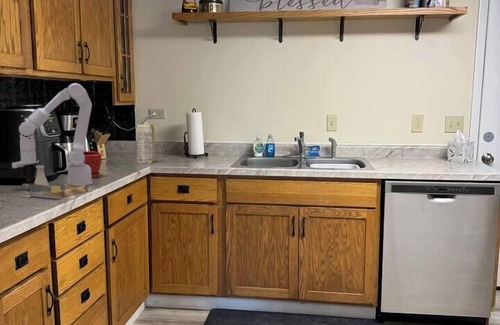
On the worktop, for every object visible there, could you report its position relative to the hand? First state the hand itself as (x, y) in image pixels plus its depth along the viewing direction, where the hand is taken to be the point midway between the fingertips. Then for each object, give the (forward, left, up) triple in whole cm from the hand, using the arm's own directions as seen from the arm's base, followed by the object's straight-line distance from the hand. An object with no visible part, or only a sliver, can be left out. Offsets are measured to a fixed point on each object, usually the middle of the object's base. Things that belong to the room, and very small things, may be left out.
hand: (29, 182), depth 195 cm
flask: (0, +7, -3) cm, 7 cm away
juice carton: (-85, -4, -3) cm, 85 cm away
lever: (+11, +19, 0) cm, 22 cm away
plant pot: (-32, +1, -3) cm, 32 cm away
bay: (0, +20, -2) cm, 20 cm away
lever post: (+12, +13, -2) cm, 17 cm away
